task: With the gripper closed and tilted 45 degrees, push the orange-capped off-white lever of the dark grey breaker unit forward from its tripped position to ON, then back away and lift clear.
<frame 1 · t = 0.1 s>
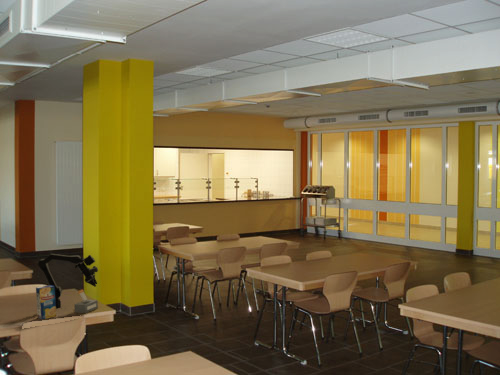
hand: (96, 285, 411), 15 cm above the table, tool tilted 35°, fingers open, 9 cm apart
breaker unit: (86, 310, 395), on the table
breaker lever: (82, 295, 395), point 11 cm above the table, hinge at -30.0°
blue cracker box: (46, 317, 380), on the table
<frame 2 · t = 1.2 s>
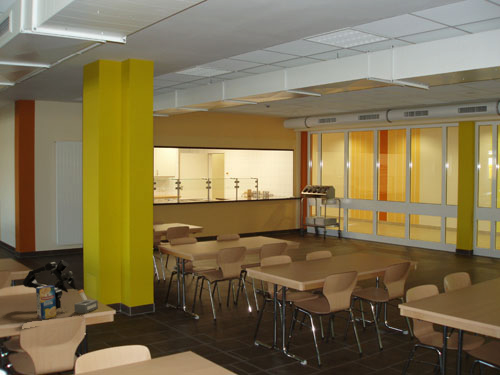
hand: (71, 290, 400), 14 cm above the table, tool tilted 45°, fingers open, 9 cm apart
nothing on the table moved.
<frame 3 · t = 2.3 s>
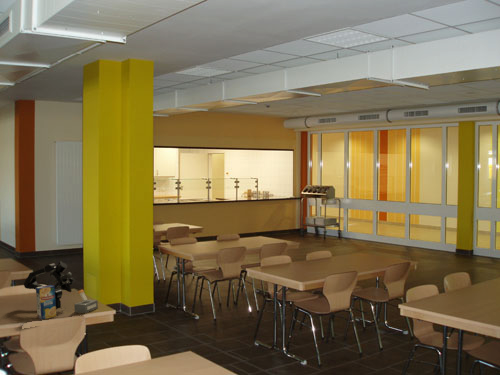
hand: (70, 291, 400), 13 cm above the table, tool tilted 45°, fingers closed
nothing on the table moved.
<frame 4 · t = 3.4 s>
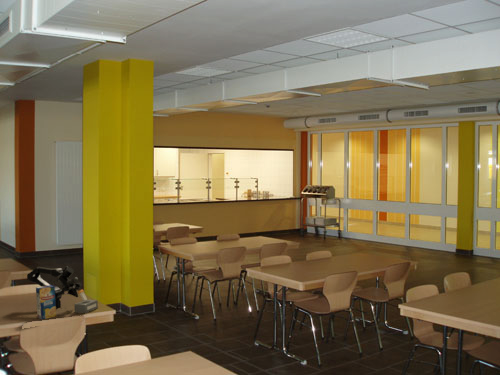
hand: (77, 296, 397), 10 cm above the table, tool tilted 45°, fingers closed
nothing on the table moved.
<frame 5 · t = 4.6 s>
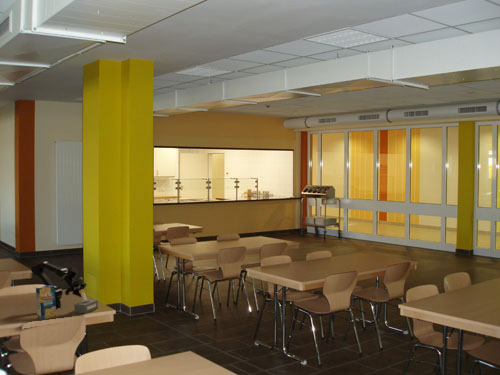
hand: (82, 297, 396), 10 cm above the table, tool tilted 45°, fingers closed, pressing on breaker lever
breaker lever: (83, 295, 395), point 11 cm above the table, hinge at -23.1°, touching gripper
everything else where it was.
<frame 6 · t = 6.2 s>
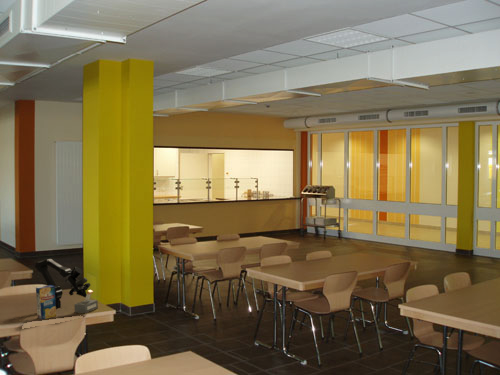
hand: (86, 297, 394), 10 cm above the table, tool tilted 45°, fingers closed, pressing on breaker lever
breaker lever: (88, 295, 393), point 11 cm above the table, hinge at 29.3°, touching gripper
everything else where it was.
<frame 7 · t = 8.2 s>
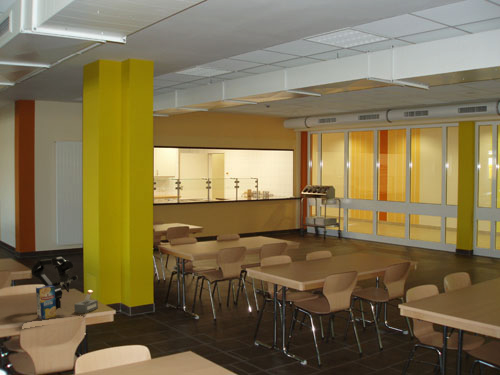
hand: (68, 292, 398), 13 cm above the table, tool tilted 20°, fingers closed
breaker lever: (88, 295, 393), point 11 cm above the table, hinge at 29.4°
everything else where it was.
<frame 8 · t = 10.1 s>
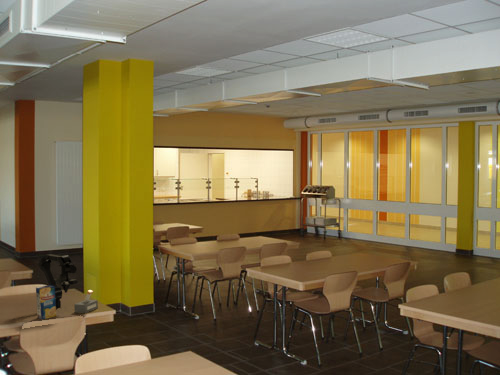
hand: (65, 292, 398), 13 cm above the table, tool pointing down, fingers closed
nothing on the table moved.
at the end: breaker lever at +29° (first picture: -30°); blue cracker box moved 0.2 cm from its start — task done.
